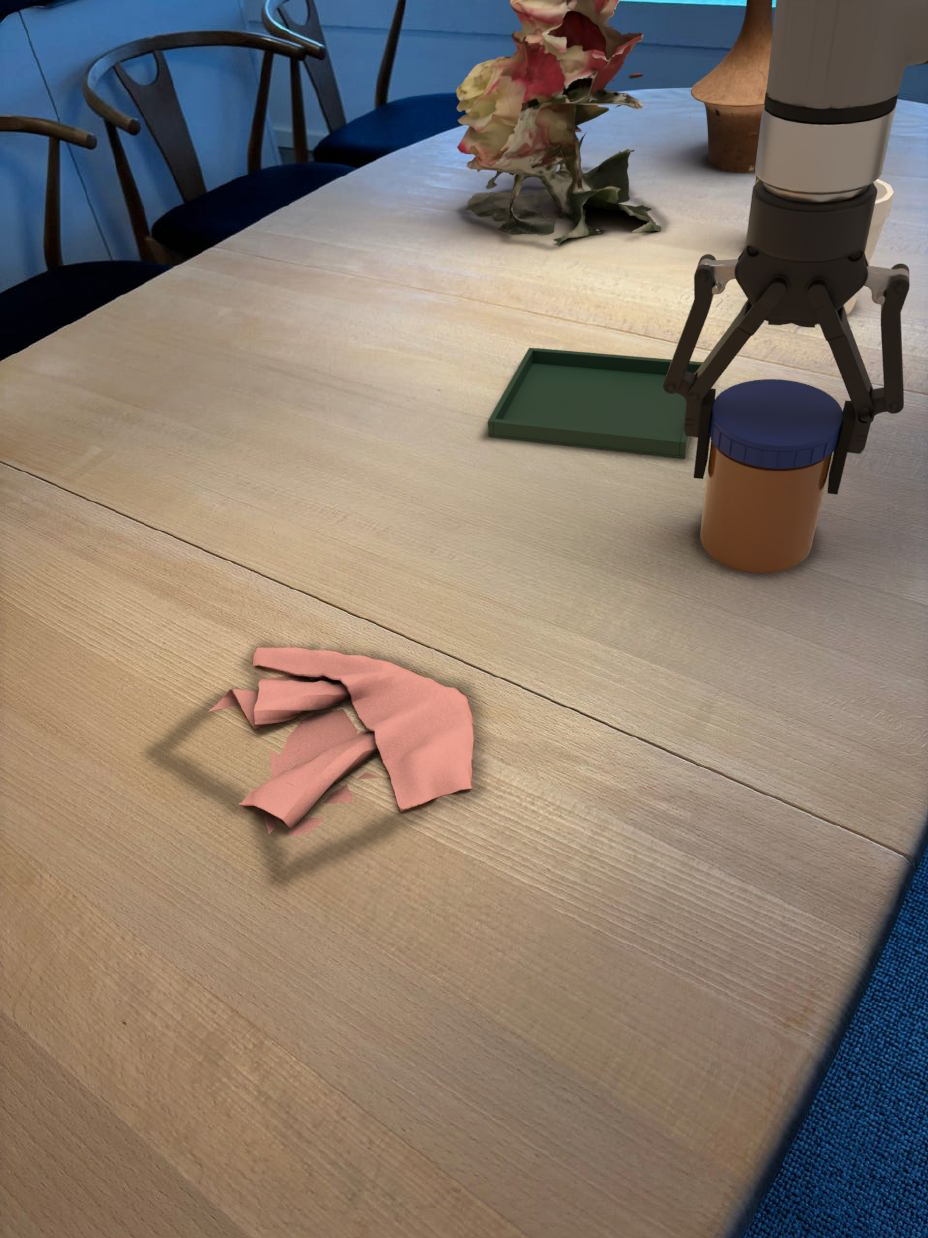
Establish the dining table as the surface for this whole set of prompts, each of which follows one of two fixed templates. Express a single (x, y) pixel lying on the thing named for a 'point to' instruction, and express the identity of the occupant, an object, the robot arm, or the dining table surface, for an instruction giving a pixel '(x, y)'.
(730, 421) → the jar lid
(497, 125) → the rose bouquet
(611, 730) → the dining table surface
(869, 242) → the foam cup
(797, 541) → the jar
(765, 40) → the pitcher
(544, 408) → the tray
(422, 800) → the cloth
